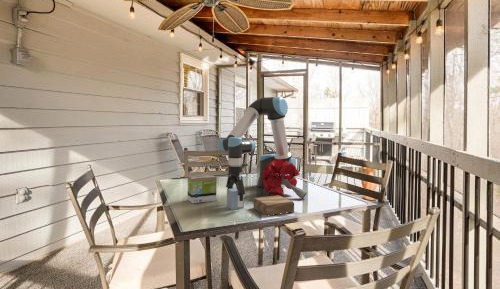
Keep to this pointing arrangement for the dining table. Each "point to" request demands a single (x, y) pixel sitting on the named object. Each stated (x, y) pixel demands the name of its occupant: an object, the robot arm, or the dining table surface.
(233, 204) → the block
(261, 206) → the riser
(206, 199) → the tea box
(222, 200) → the dining table surface
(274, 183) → the bouquet
